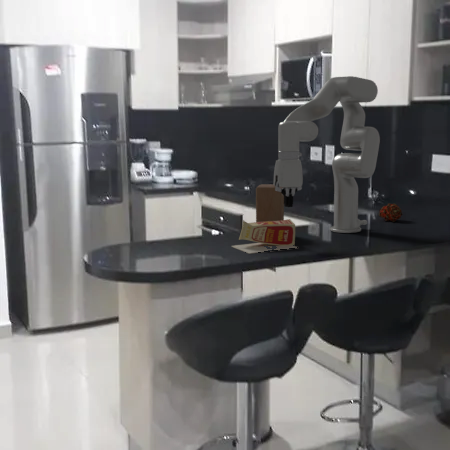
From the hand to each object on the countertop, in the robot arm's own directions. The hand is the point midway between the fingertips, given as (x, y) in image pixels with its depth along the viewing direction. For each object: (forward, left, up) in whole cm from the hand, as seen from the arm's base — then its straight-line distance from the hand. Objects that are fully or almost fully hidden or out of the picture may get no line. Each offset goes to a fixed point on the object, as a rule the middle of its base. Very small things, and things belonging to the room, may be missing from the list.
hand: (288, 206), depth 236 cm
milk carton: (-2, -1, -10) cm, 10 cm away
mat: (+10, 0, -14) cm, 17 cm away
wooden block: (-3, -19, -15) cm, 24 cm away
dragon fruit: (-66, -23, -15) cm, 71 cm away
